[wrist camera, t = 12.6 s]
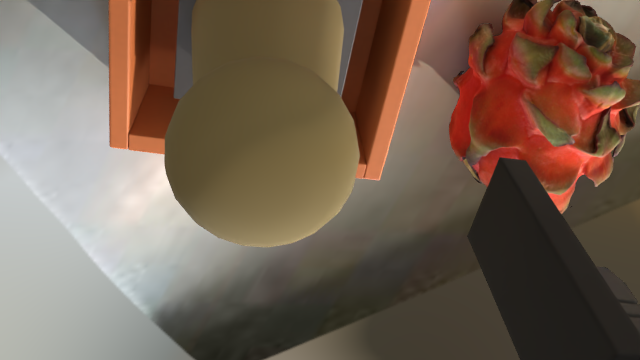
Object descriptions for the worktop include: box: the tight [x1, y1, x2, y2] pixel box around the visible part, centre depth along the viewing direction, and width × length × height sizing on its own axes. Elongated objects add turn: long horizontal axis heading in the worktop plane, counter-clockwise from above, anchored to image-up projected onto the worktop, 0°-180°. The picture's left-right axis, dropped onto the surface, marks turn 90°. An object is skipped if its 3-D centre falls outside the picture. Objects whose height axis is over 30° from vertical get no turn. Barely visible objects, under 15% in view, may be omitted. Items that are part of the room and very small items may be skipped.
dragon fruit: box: [449, 0, 640, 214], centre depth 29 cm, size 8×8×12 cm
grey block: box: [173, 0, 363, 99], centre depth 26 cm, size 7×7×4 cm
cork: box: [165, 0, 360, 247], centre depth 20 cm, size 6×6×11 cm
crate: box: [109, 0, 431, 180], centre depth 26 cm, size 12×12×6 cm
